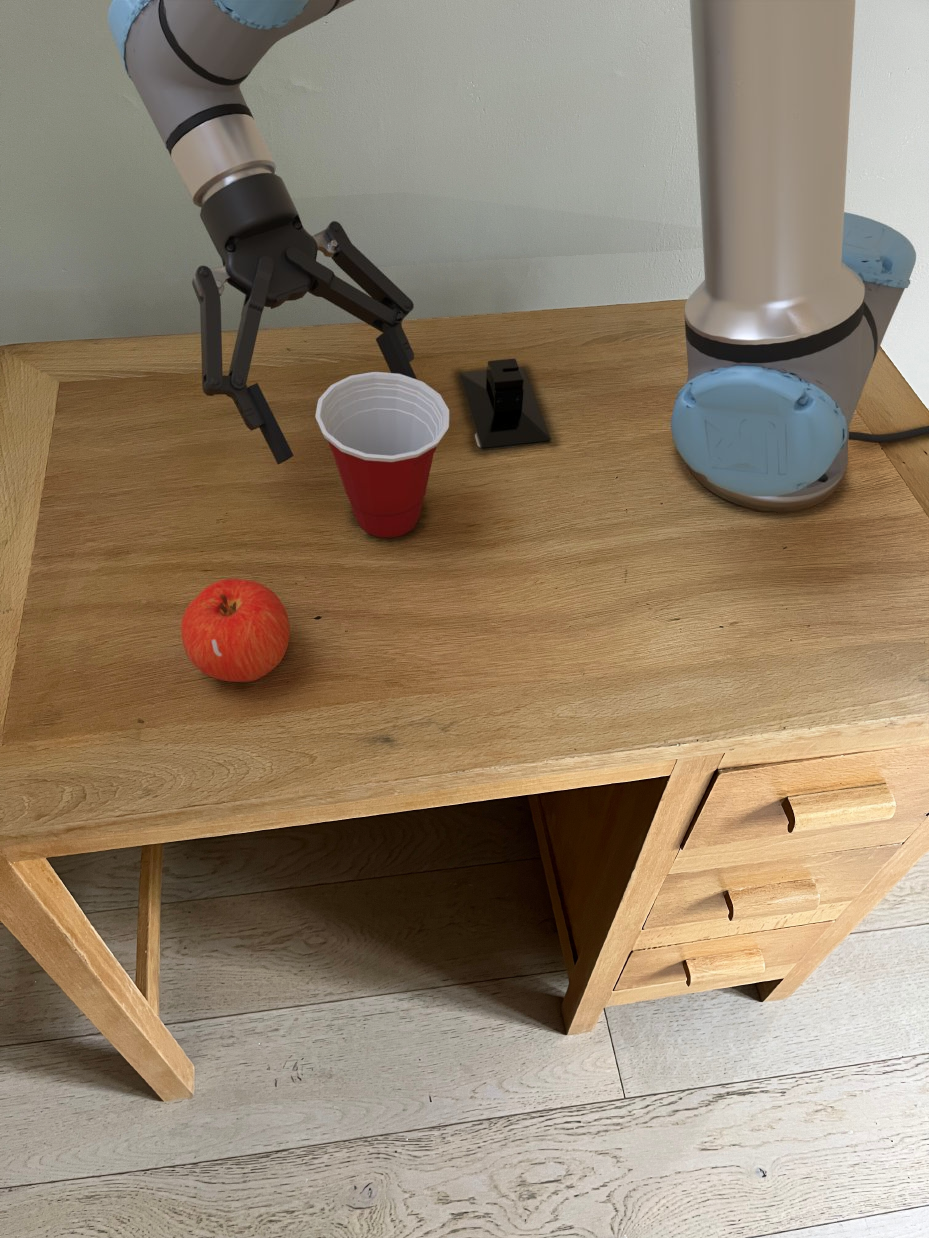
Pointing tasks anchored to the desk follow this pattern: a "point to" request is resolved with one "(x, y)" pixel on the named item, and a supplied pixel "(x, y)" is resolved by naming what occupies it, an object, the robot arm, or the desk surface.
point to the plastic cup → (383, 445)
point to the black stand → (503, 406)
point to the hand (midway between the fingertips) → (353, 430)
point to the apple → (235, 630)
